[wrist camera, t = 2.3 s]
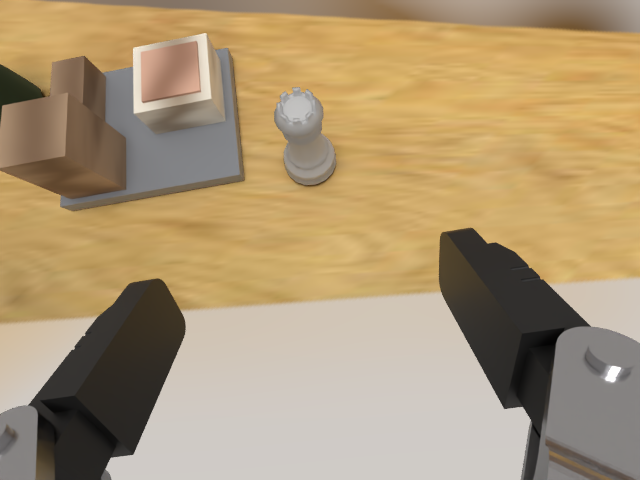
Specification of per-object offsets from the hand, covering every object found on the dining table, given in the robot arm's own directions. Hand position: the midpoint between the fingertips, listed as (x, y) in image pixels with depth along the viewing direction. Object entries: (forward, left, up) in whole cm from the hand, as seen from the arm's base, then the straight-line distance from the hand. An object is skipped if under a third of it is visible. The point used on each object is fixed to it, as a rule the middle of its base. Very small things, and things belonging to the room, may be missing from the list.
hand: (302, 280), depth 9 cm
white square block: (-10, +20, -15) cm, 27 cm away
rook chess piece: (0, +12, -16) cm, 20 cm away
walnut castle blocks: (-18, +18, -15) cm, 30 cm away
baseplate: (-14, +18, -16) cm, 28 cm away
